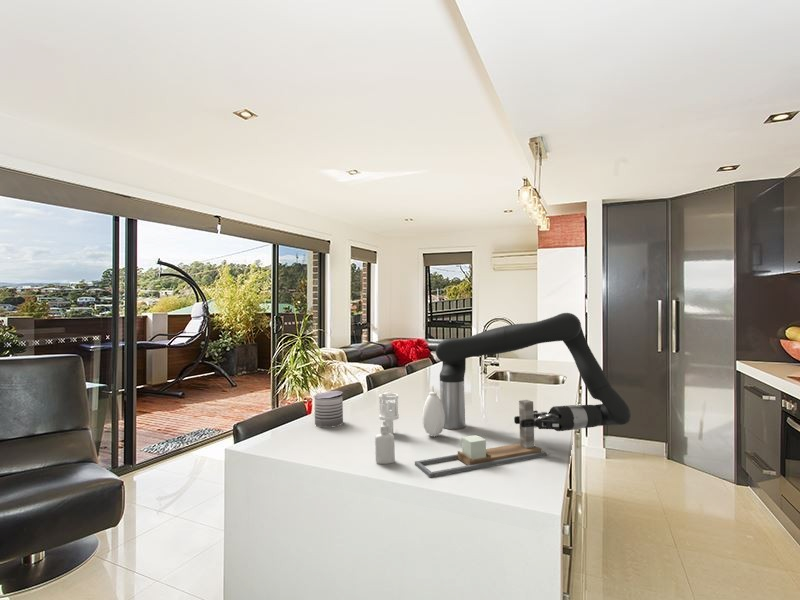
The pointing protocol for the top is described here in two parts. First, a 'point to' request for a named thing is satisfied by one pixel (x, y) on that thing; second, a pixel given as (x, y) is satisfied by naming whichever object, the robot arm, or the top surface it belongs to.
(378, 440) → the eye dropper bottle
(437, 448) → the top surface
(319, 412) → the can
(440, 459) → the track
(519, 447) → the wooden board with post
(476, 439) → the block
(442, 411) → the sauce bottle
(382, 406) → the white tall plastic piece
